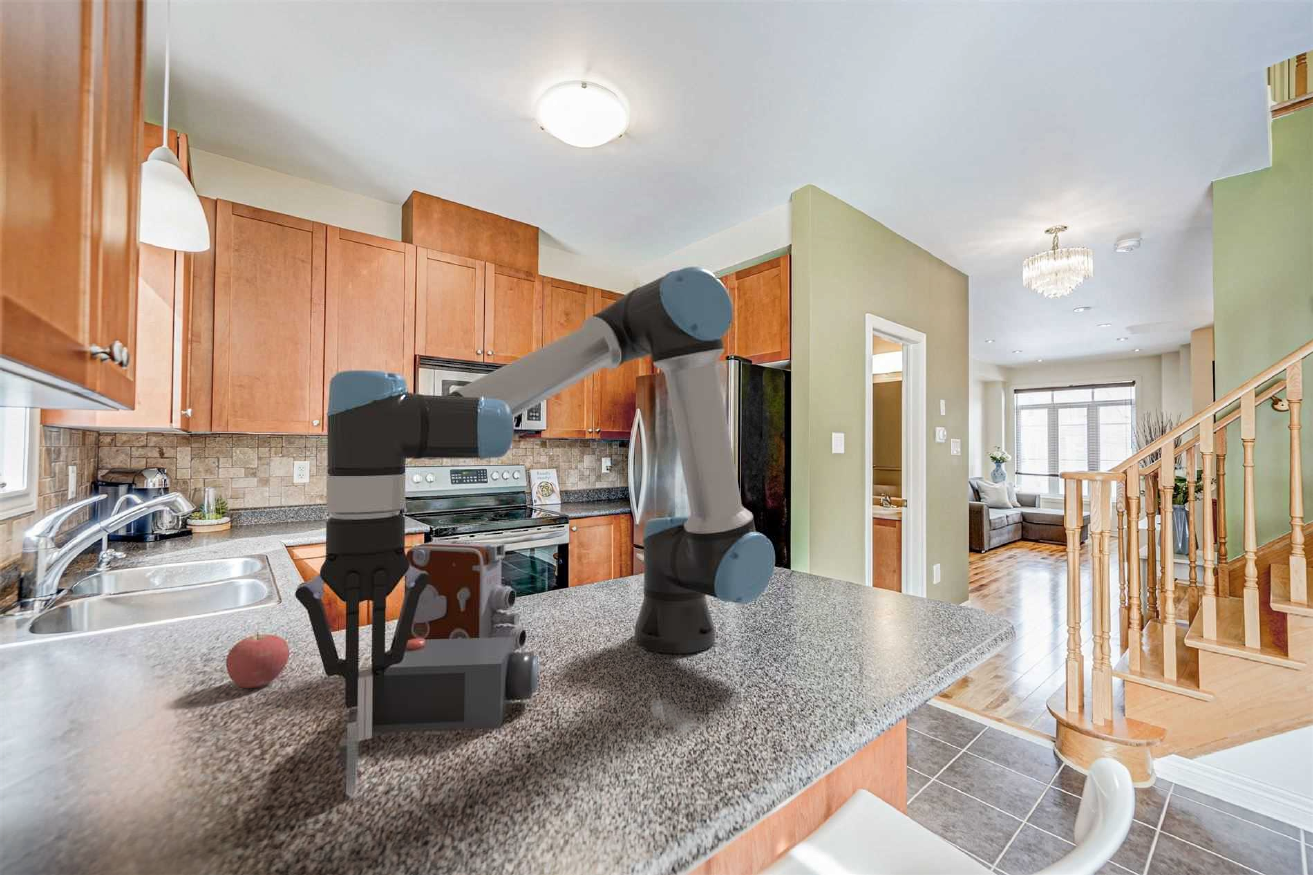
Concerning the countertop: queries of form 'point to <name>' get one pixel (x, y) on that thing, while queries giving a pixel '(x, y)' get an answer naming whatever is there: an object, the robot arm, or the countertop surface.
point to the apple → (257, 660)
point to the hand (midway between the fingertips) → (364, 733)
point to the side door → (350, 751)
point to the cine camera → (463, 592)
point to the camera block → (454, 685)
